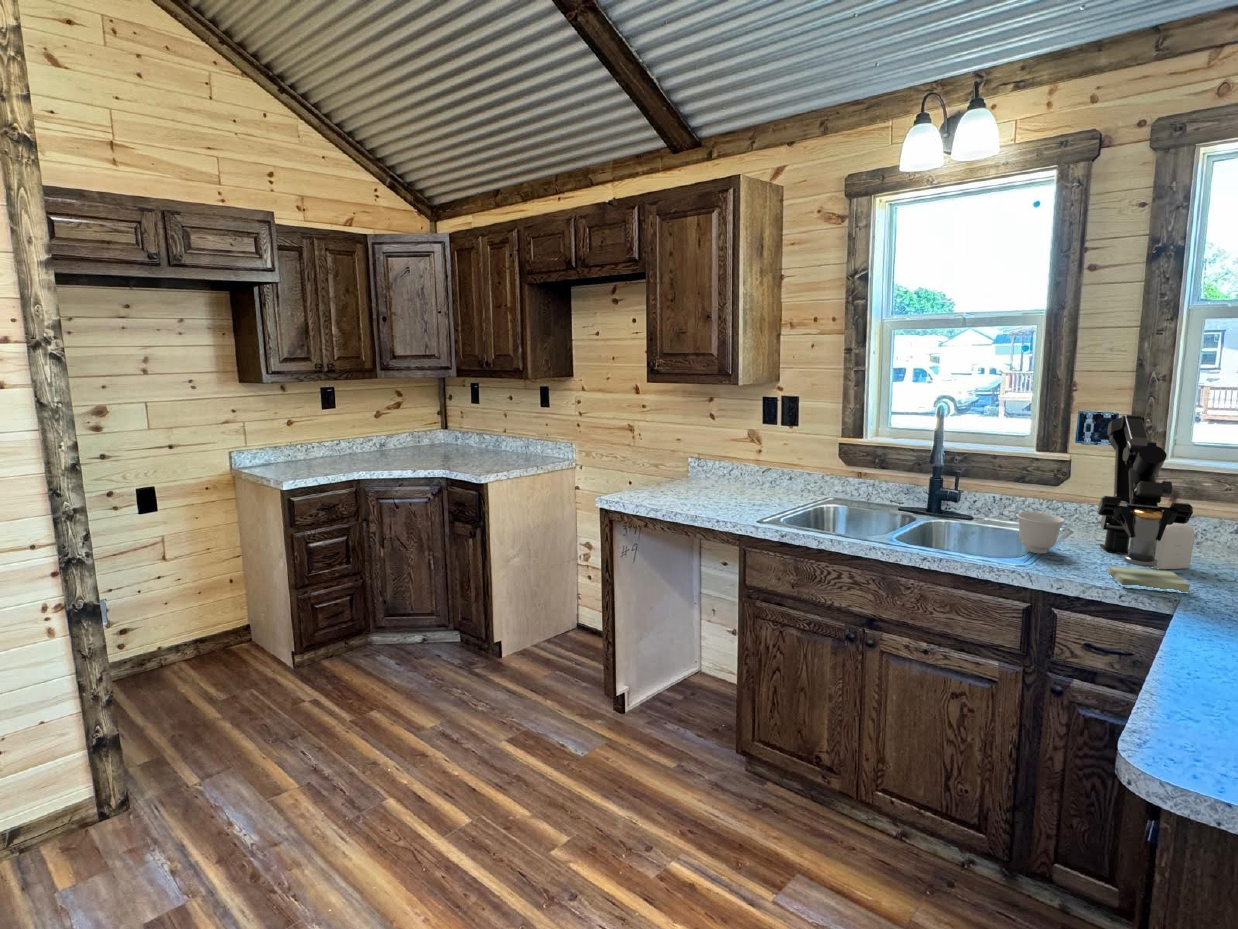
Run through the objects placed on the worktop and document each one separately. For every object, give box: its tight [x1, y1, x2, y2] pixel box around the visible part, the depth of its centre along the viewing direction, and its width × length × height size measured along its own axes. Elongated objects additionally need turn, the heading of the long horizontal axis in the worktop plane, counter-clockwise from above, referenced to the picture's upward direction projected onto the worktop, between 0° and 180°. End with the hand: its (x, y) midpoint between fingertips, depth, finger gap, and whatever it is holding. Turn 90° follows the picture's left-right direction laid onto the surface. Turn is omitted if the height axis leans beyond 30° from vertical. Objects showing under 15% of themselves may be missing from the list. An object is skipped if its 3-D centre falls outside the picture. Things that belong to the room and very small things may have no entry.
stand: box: [1107, 565, 1191, 592], centre depth 181 cm, size 10×14×2 cm
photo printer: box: [1152, 523, 1196, 570], centre depth 193 cm, size 10×4×12 cm, turn 96°
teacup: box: [1015, 511, 1066, 554], centre depth 208 cm, size 12×15×10 cm
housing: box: [1123, 509, 1163, 568], centre depth 180 cm, size 7×7×13 cm
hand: (1145, 538), depth 179 cm, fingers closed on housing, 5 cm apart
